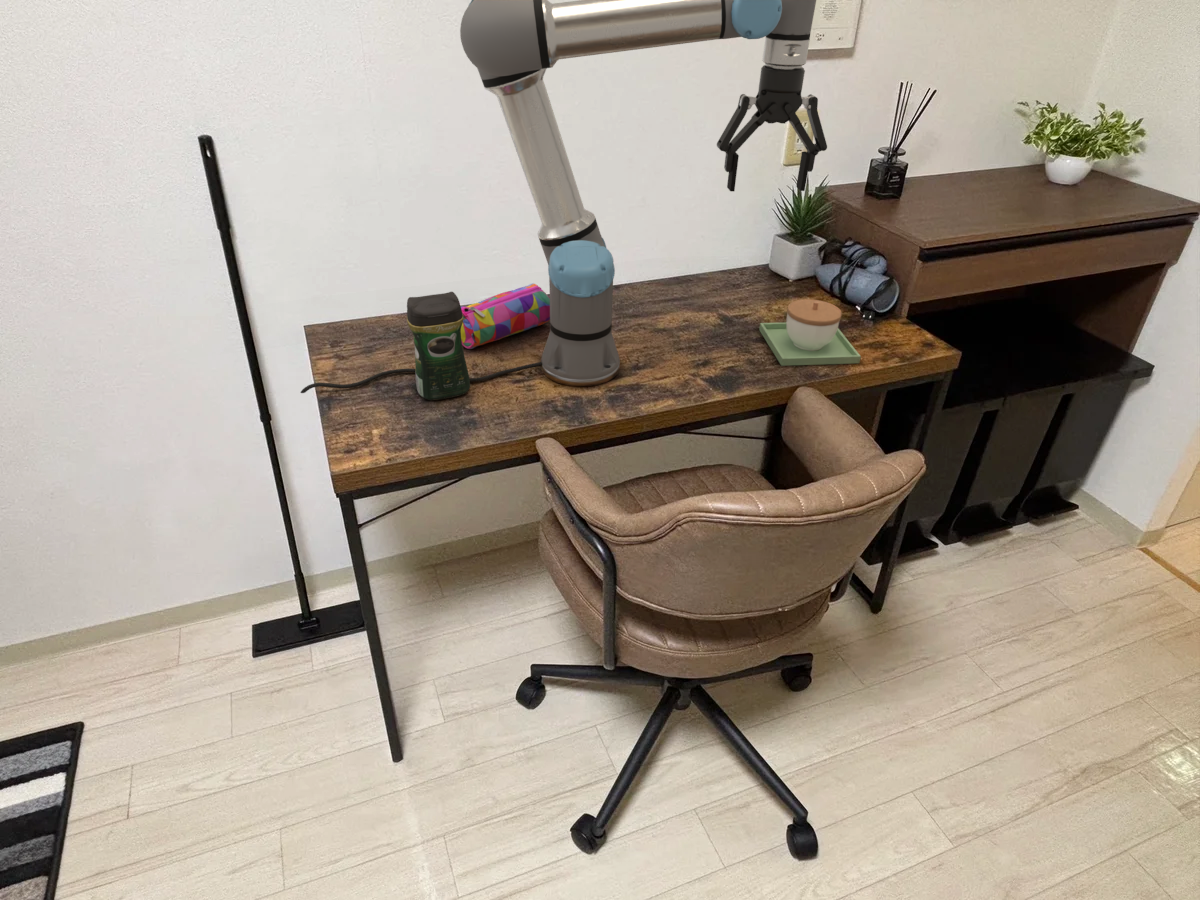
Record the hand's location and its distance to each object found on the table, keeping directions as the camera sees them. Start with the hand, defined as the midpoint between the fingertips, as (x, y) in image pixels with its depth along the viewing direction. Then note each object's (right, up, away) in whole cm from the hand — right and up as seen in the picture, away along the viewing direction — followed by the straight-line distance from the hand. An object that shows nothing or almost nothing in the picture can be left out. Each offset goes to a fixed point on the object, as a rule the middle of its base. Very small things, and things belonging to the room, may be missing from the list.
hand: (765, 189), depth 146 cm
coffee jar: (-60, -39, -4) cm, 72 cm away
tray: (+12, -28, +14) cm, 33 cm away
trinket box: (+12, -28, +14) cm, 33 cm away
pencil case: (-52, -26, +15) cm, 60 cm away
